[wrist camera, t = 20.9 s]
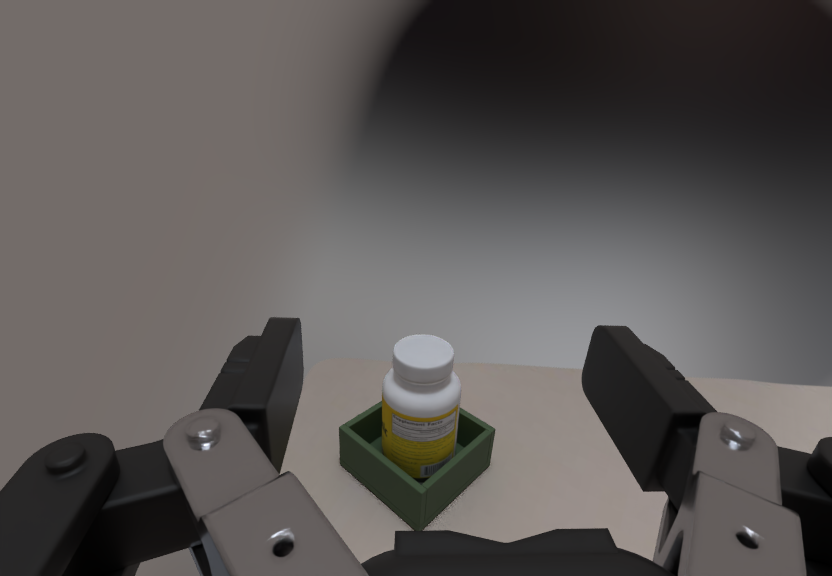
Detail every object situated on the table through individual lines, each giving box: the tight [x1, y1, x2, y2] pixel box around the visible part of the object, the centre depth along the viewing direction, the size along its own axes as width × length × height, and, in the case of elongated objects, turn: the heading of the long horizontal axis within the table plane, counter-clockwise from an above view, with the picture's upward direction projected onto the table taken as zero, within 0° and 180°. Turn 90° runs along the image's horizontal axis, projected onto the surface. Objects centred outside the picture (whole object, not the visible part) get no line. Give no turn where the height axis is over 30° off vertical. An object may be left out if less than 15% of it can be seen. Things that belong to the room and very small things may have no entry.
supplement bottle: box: [382, 334, 461, 485], centre depth 32 cm, size 5×5×10 cm
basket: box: [339, 401, 495, 531], centre depth 34 cm, size 8×8×4 cm
